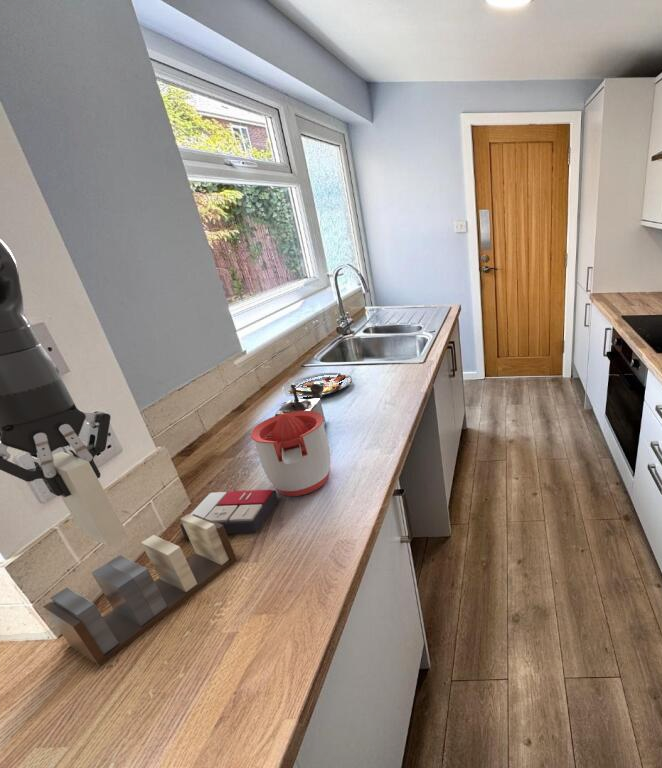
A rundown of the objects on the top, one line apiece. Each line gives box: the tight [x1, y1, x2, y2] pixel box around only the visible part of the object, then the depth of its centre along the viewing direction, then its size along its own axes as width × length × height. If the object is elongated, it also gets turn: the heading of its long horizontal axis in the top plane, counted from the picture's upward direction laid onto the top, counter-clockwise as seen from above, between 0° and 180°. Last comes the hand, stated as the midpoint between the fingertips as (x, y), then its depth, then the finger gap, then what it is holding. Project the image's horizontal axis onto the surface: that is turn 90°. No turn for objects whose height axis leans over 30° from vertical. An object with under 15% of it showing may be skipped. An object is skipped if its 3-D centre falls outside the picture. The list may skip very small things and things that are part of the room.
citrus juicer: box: [250, 411, 331, 497], centre depth 99 cm, size 16×17×20 cm
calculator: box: [179, 489, 279, 539], centre depth 91 cm, size 11×4×15 cm
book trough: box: [42, 513, 238, 667], centre depth 71 cm, size 9×22×10 cm, turn 157°
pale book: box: [52, 451, 129, 548], centre depth 61 cm, size 8×2×14 cm, turn 67°
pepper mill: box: [274, 382, 327, 428], centre depth 124 cm, size 16×11×18 cm
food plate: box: [281, 372, 353, 398], centre depth 159 cm, size 25×23×4 cm
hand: (79, 488), depth 60 cm, fingers closed on pale book, 2 cm apart
